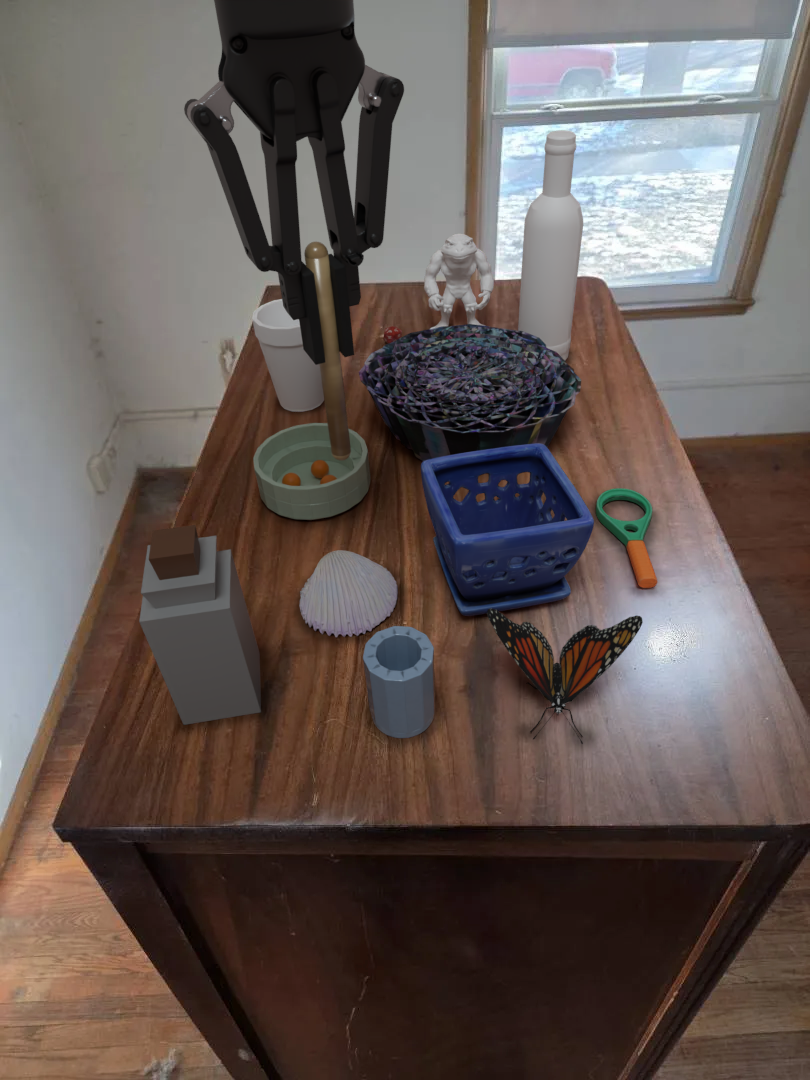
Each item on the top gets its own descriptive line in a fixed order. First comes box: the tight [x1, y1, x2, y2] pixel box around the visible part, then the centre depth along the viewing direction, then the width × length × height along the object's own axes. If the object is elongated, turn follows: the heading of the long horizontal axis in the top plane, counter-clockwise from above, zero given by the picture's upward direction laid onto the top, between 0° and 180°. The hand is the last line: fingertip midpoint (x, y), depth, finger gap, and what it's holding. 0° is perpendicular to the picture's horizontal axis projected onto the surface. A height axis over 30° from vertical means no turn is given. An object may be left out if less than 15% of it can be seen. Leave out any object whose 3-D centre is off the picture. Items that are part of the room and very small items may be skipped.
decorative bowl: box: [358, 324, 582, 462], centre depth 94 cm, size 26×28×10 cm
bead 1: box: [282, 473, 301, 486], centre depth 87 cm, size 2×2×2 cm
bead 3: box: [320, 475, 337, 484], centre depth 86 cm, size 2×2×2 cm
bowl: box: [252, 422, 371, 521], centre depth 87 cm, size 13×13×5 cm
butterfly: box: [486, 608, 644, 745], centre depth 61 cm, size 12×10×10 cm
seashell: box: [298, 549, 399, 638], centre depth 74 cm, size 10×6×10 cm
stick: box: [303, 241, 351, 461], centre depth 55 cm, size 2×2×18 cm
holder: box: [362, 625, 436, 739], centre depth 62 cm, size 6×6×8 cm
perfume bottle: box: [138, 524, 262, 726], centre depth 61 cm, size 7×7×18 cm
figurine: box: [423, 233, 495, 329], centre depth 113 cm, size 11×7×15 cm, turn 90°
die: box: [382, 325, 403, 344], centre depth 114 cm, size 3×3×3 cm
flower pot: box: [420, 443, 595, 617], centre depth 72 cm, size 13×13×12 cm
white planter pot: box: [251, 298, 324, 413], centre depth 100 cm, size 10×9×13 cm
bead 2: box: [311, 460, 329, 478], centre depth 89 cm, size 2×2×2 cm
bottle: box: [517, 129, 584, 361], centre depth 101 cm, size 8×8×30 cm
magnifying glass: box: [595, 487, 659, 589], centre depth 79 cm, size 15×6×2 cm, turn 179°
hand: (328, 351), depth 54 cm, fingers closed on stick, 1 cm apart
